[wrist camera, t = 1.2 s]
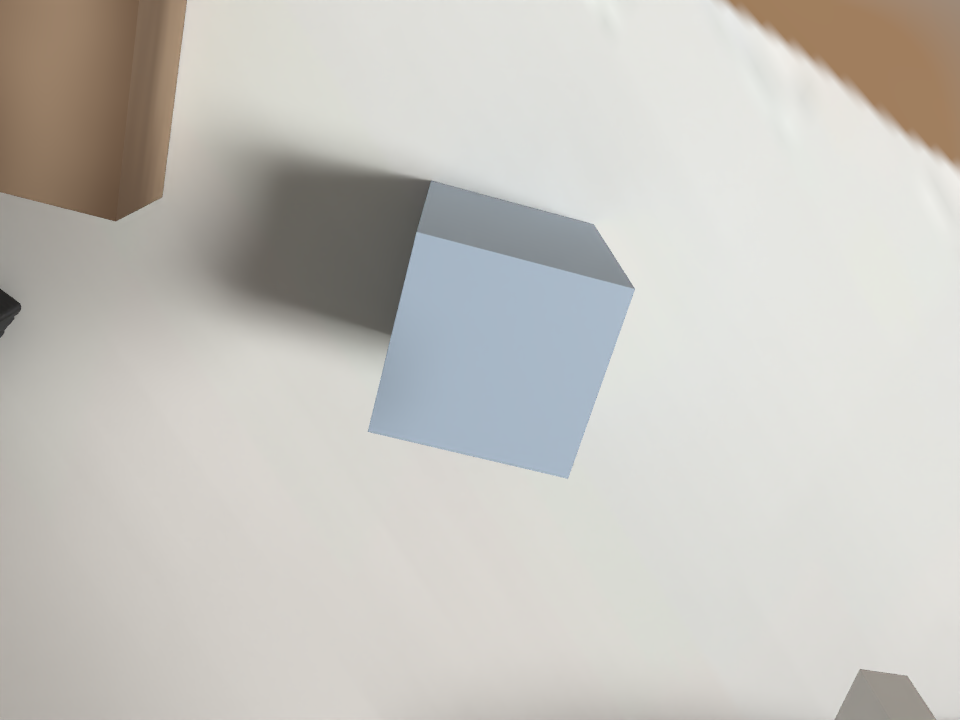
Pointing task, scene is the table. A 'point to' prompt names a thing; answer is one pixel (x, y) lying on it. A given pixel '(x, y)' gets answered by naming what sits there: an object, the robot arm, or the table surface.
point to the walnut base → (88, 101)
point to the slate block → (501, 332)
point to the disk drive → (7, 310)
